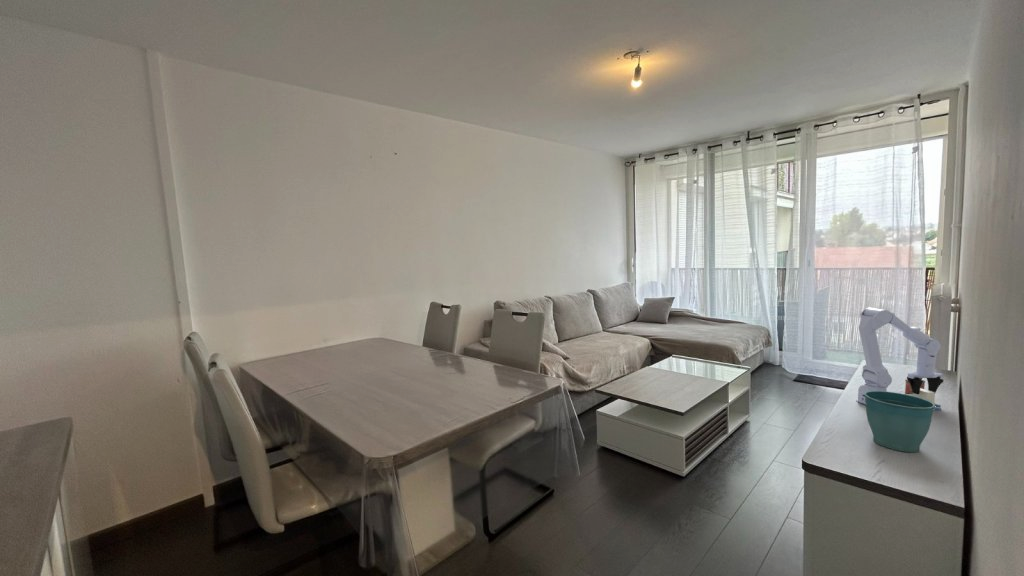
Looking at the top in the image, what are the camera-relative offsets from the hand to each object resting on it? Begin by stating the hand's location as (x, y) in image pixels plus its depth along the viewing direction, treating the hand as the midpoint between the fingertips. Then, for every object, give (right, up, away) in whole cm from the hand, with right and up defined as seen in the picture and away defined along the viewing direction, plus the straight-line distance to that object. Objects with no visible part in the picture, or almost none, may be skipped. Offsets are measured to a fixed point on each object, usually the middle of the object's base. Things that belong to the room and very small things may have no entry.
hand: (923, 393), depth 182 cm
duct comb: (-3, -5, +1) cm, 6 cm away
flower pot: (-49, -9, -38) cm, 63 cm away
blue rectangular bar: (0, -6, -5) cm, 7 cm away
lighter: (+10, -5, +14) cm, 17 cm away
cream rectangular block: (0, -6, 0) cm, 6 cm away
